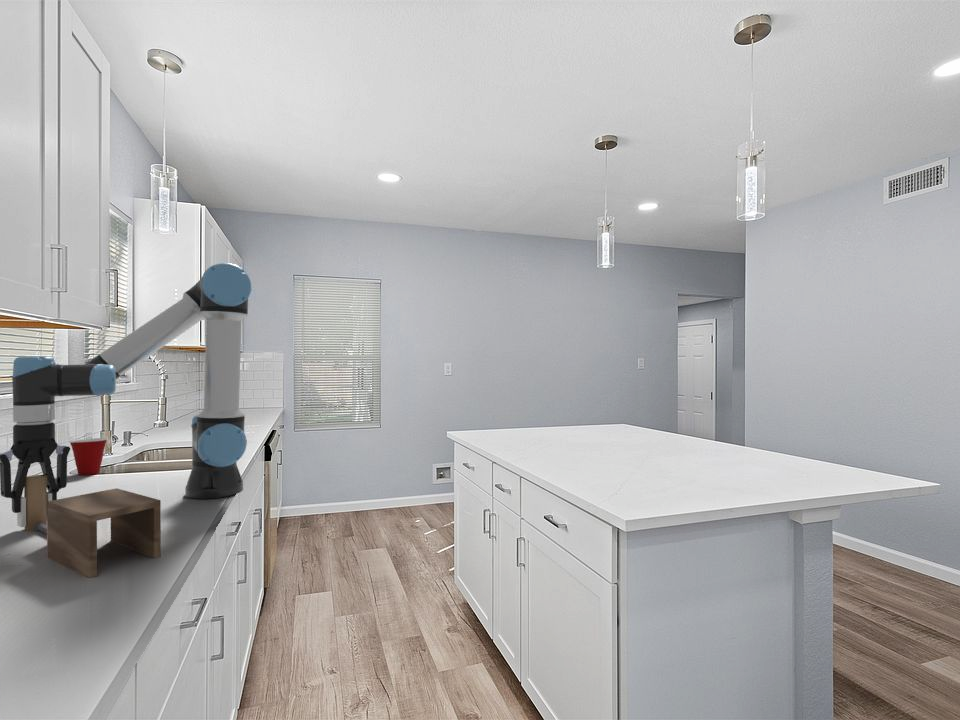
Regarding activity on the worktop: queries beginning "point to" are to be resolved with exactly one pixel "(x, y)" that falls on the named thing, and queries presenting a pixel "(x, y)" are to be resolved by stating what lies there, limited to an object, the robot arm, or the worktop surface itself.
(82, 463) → the plastic cup
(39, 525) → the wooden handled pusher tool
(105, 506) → the shelf lane
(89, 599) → the worktop surface
